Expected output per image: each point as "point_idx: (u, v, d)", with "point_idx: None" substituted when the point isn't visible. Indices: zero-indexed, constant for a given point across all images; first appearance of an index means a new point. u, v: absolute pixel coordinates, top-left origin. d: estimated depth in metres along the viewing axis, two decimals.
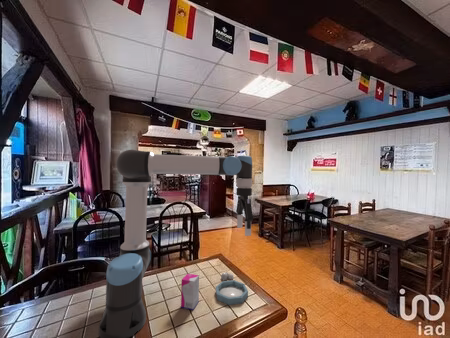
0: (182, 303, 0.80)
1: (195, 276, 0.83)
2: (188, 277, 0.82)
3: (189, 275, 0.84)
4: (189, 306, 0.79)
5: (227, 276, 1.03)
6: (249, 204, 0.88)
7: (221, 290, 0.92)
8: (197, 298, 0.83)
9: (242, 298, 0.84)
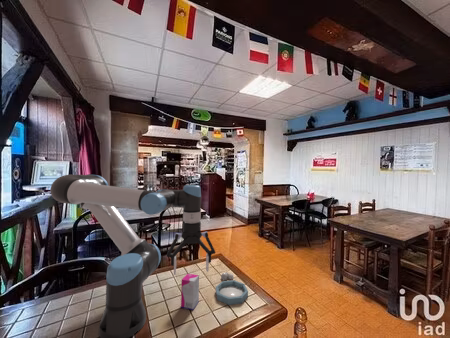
0: (182, 303, 0.80)
1: (195, 276, 0.83)
2: (188, 277, 0.82)
3: (189, 275, 0.84)
4: (189, 306, 0.79)
5: (227, 276, 1.03)
6: (174, 239, 0.81)
7: (221, 290, 0.92)
8: (197, 298, 0.83)
9: (242, 298, 0.84)
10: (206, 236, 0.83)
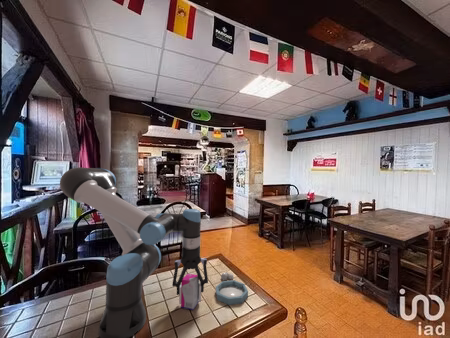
0: (182, 303, 0.80)
1: (195, 276, 0.83)
2: (188, 277, 0.82)
3: (189, 275, 0.84)
4: (189, 306, 0.79)
5: (227, 276, 1.03)
6: (175, 267, 0.81)
7: (221, 290, 0.92)
8: (197, 298, 0.83)
9: (242, 298, 0.84)
10: (204, 263, 0.83)
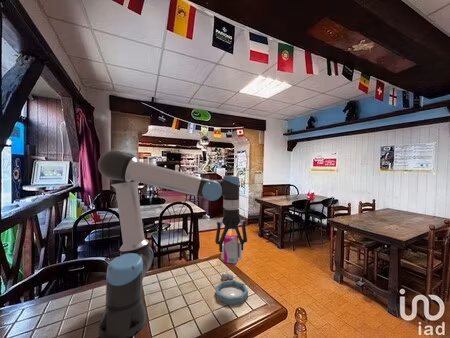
0: (225, 259, 0.88)
1: (235, 236, 0.91)
2: (229, 236, 0.90)
3: (229, 235, 0.92)
4: (232, 261, 0.87)
5: (227, 276, 1.03)
6: (217, 227, 0.89)
7: (221, 290, 0.92)
8: (237, 256, 0.90)
9: (242, 298, 0.84)
10: (244, 224, 0.90)
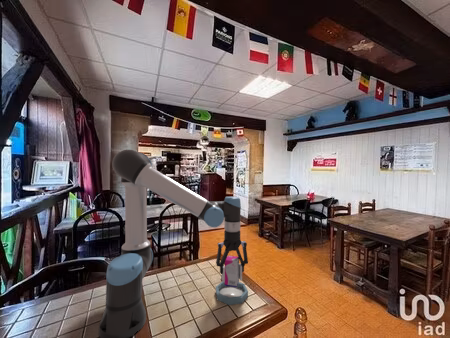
0: (226, 281, 0.88)
1: (236, 257, 0.91)
2: (230, 258, 0.90)
3: (230, 256, 0.92)
4: (232, 284, 0.87)
5: None
6: (218, 249, 0.89)
7: (221, 290, 0.92)
8: (238, 277, 0.90)
9: (242, 298, 0.84)
10: (244, 246, 0.91)
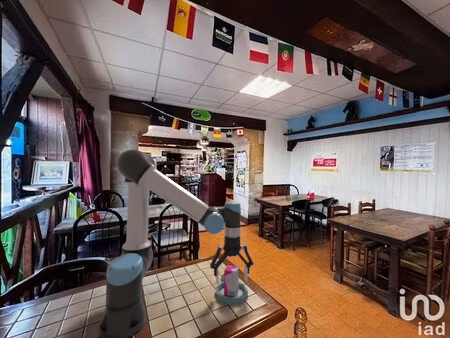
0: (225, 291, 0.88)
1: (235, 267, 0.91)
2: (229, 268, 0.90)
3: (229, 266, 0.92)
4: (232, 294, 0.87)
5: None
6: (217, 252, 0.89)
7: (221, 290, 0.92)
8: (237, 287, 0.90)
9: (242, 298, 0.84)
10: (245, 249, 0.91)
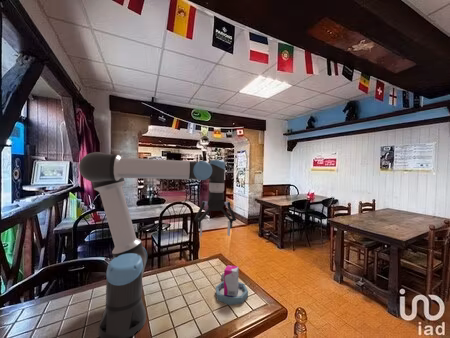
0: (225, 291, 0.88)
1: (235, 267, 0.91)
2: (229, 268, 0.90)
3: (229, 266, 0.92)
4: (232, 294, 0.87)
5: None
6: (201, 206, 0.94)
7: (221, 290, 0.92)
8: (237, 287, 0.90)
9: (242, 298, 0.84)
10: (228, 205, 0.95)
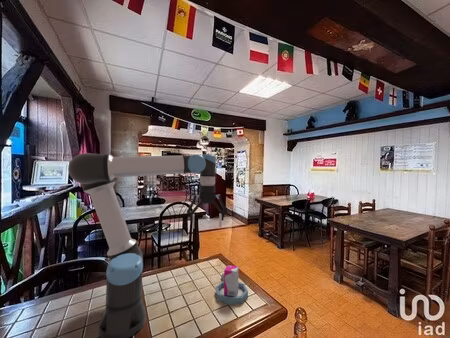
0: (225, 291, 0.88)
1: (235, 267, 0.91)
2: (229, 268, 0.90)
3: (229, 266, 0.92)
4: (232, 294, 0.87)
5: None
6: (193, 199, 0.96)
7: (221, 290, 0.92)
8: (237, 287, 0.90)
9: (242, 298, 0.84)
10: (219, 198, 0.98)
